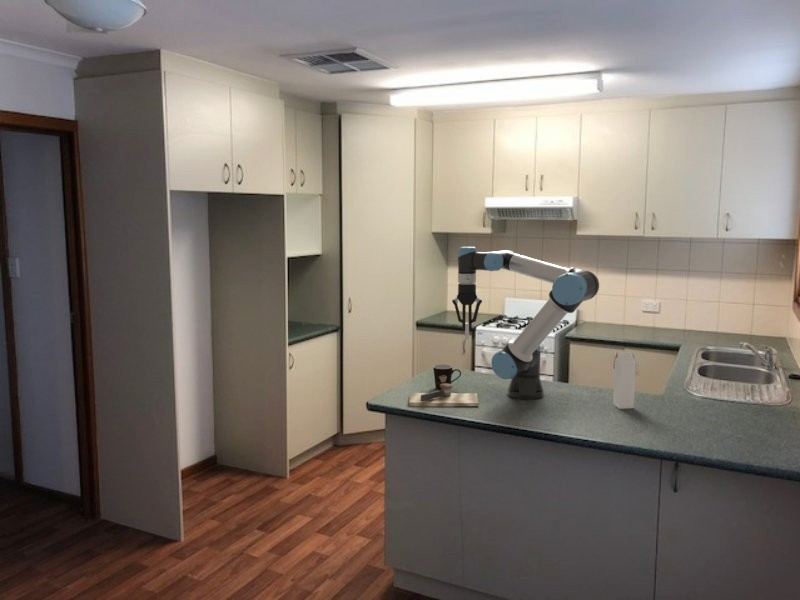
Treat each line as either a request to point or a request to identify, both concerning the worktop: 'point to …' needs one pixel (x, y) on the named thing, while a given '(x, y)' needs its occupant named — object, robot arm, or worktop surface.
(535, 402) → the worktop surface
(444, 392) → the dark grey square rod
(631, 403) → the milk
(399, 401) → the worktop surface
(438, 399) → the wooden board
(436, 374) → the coffee mug
